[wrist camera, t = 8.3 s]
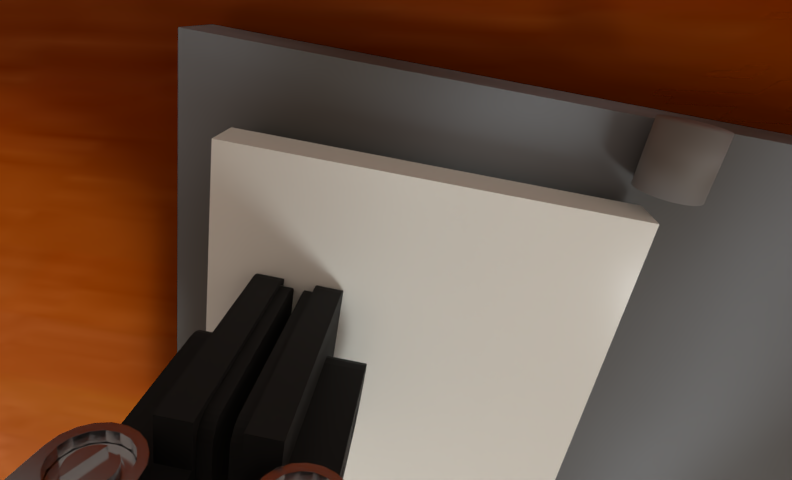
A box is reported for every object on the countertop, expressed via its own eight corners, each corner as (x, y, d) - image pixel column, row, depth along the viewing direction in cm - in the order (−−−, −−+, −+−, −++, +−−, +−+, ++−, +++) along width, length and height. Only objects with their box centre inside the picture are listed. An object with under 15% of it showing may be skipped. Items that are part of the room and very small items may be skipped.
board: (1104, 190, 11) (1303, 245, 8) (822, 560, 15) (893, 668, 13) (212, 18, 11) (142, 22, 8) (201, 432, 16) (153, 512, 13)
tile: (211, 138, 9) (236, 123, 10) (201, 479, 12) (221, 440, 13) (659, 224, 9) (636, 199, 10) (528, 543, 12) (522, 499, 13)
